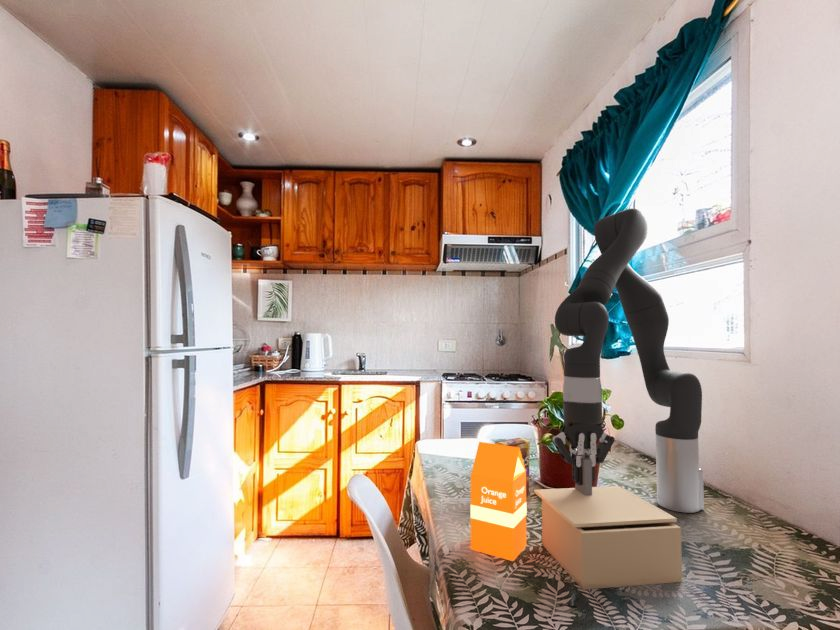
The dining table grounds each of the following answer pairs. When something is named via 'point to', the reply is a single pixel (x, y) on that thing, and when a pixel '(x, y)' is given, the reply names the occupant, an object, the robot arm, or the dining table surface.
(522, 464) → the orange juice
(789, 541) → the dining table surface
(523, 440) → the candy box
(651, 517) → the carton lid
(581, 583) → the carton
